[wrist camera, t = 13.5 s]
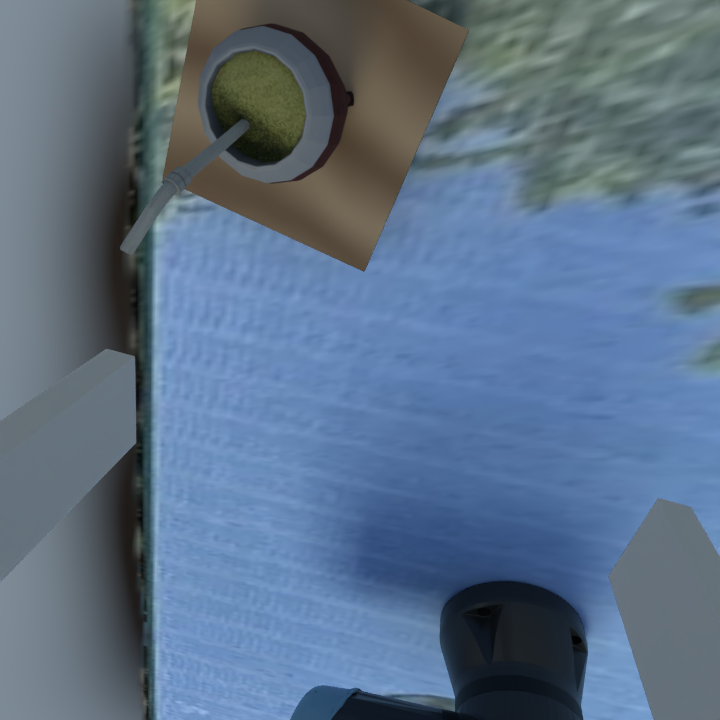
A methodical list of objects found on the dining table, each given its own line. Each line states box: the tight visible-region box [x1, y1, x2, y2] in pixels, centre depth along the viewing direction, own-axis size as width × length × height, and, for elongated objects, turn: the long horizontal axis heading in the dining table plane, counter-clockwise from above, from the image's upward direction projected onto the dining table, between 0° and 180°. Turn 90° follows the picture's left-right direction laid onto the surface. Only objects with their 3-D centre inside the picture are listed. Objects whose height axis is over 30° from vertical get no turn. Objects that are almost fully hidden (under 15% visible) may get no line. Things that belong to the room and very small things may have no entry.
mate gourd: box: [120, 24, 354, 255], centre depth 24 cm, size 8×8×15 cm
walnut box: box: [163, 0, 469, 271], centre depth 33 cm, size 15×15×6 cm
